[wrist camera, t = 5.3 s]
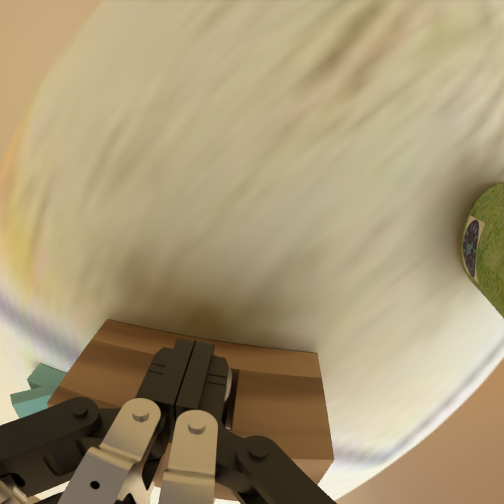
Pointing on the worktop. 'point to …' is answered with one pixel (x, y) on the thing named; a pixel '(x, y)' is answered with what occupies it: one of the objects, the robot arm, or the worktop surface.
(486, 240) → the beverage can
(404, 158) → the worktop surface
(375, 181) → the worktop surface
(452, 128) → the worktop surface
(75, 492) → the robot arm
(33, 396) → the v block
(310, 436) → the brown wooden block
